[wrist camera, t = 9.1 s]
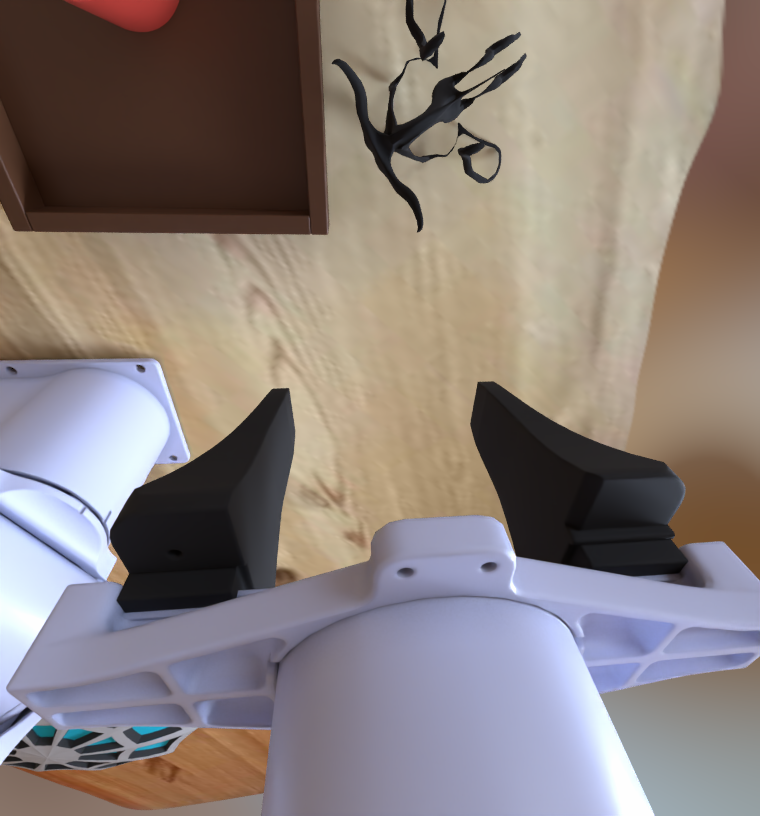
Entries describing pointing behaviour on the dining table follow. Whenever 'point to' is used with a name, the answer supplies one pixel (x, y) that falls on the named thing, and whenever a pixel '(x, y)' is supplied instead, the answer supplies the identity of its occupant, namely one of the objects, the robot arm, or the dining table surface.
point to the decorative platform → (92, 746)
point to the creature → (440, 110)
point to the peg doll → (131, 12)
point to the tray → (164, 120)
